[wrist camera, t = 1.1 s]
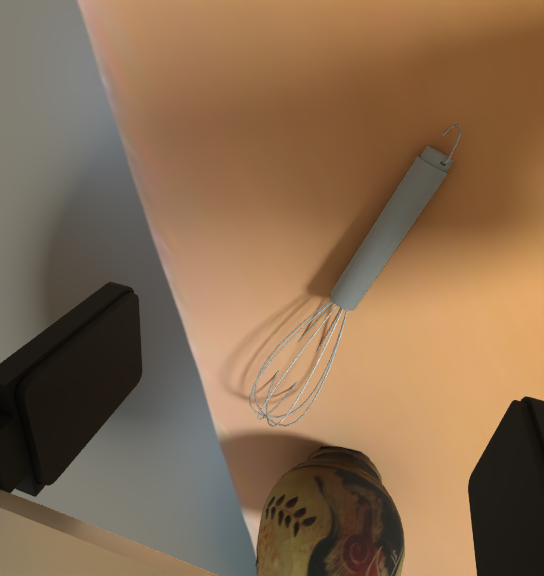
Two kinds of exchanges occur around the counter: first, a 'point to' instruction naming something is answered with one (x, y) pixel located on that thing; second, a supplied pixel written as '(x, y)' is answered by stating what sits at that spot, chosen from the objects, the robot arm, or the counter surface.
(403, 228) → the kitchen whisk
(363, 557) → the ceramic jug
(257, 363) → the counter surface
